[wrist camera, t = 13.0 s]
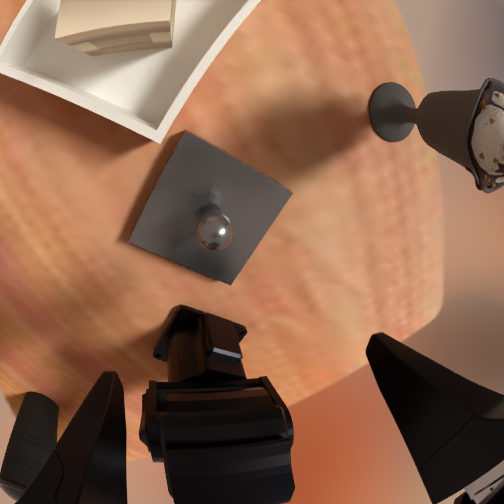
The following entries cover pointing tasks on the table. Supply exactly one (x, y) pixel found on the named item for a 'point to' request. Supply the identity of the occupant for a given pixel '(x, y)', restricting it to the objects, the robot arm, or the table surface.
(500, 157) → the sundae
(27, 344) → the table surface
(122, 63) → the bin
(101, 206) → the table surface
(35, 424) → the drinking cup
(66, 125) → the table surface
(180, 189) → the stud plate
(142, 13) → the socket block
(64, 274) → the table surface
